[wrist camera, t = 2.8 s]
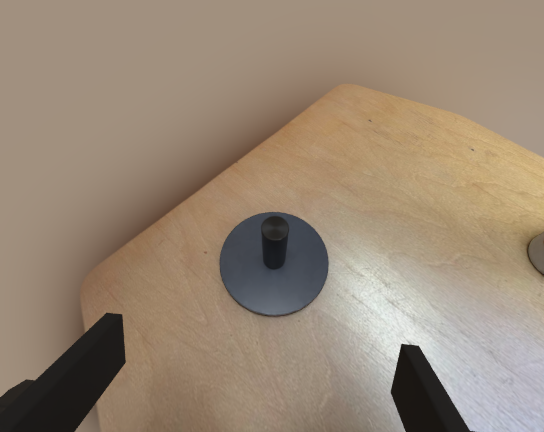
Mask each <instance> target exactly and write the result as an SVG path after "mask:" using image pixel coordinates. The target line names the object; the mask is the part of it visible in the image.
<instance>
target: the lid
mask: <svg viewBox="0 0 544 432" xmlns="http://www.w3.org/2000/svg"><path fill="white" fill-rule="evenodd" d="M220 272H221V276H222V280H223V282H224V284H225V287H226V289H227V290H228V292H229V293H230V295H231V296H232V297H233V298H234V299H235V300H236V301H237V302H238V303H239V304H240V305H242V306H243V307H245V308H246V309H248V310H250V311H252V312H255V313H258V314H261V315H267V316H281V315H287V314H291V313H294V312H296V311H299V310H300V309H302V308H304V307H305V306H307V305H308V304H309V303H311V302H312V301H313V300H314V299H315V298H316V296H317V295H318V294H319V292H320V291H321V289H322V287H323V285H324V283H325V281H326V278H327V273H328V255H327V250H326V247H325V245H324V243H323V241H322V239H321V237H320V236H319V234H318V233H317V232H316V231H315V229H314V228H313V227H311V226H310V225H309V224H308V223H306V222H305V221H304V220H302V219H300V218H298V217H296V216H293V215H290V214H286V213H280V212H267V213H261V214H258V215H254V216H252V217H250V218H248V219H246V220H244V221H243V222H241V223H240V224H239V225H237V226H236V227H235V228H234V229H233V230H232V231H231V233H230V234H229V235H228V237H227V239H226V240H225V242H224V245H223V247H222V250H221V254H220Z"/></svg>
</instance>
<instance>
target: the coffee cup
mask: <svg viewBox="0 0 544 432" xmlns="http://www.w3.org/2000/svg"><path fill="white" fill-rule="evenodd" d="M528 254H529V258H530V260H531V262H532V263H533V265H534V266H535V267H536V268H537V269H538V270H539V271H540V272H541V273H542V274H544V232H543V233H541V234H539V235H538V236H536V237H535V238H534V239H533V240H532V241H531V243H530V246H529V248H528Z"/></svg>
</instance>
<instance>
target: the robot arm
mask: <svg viewBox="0 0 544 432" xmlns="http://www.w3.org/2000/svg"><path fill="white" fill-rule="evenodd" d="M125 363H126V360H125V346H124V333H123V319H122V314H113V313H106V314H105V315H104V316H103V317H102V318H101V319H100V320H98V321H97V322H96V323H95V324H94V325H93V326H92V327H91V328H90V329H89V330H88V331H87V332H86V333H85V334H84V335H83V336H82V337H81V338H80V339H78V340H77V341H76V342H75V343H74V344H73V345H72V346H71V347H70V348H69V349H68V350H67V351H66V352H65V353H64V354H63V355H62V356H61V357H59V358H58V360H56V361H55V362H54V363H53V364H52V365H51V366H50V367H49V368H48V369H47V370H46V371H45V372H44V373H43V374H42V375H40V377H38V379H36V380H35V381H34V380H25V381H23V382H21V383H20V384H18V385H16V386H15V387H13V388H11V389H10V390H8V391H7V392H6V393H5V394H4V395H3V396H1V397H0V432H74V431H75V430H76V428H78V426H79V425H80V423H81V422H82V421H83V419H84V418H85V417H86V415H87V414H88V413H89V411H90V410H91V409H92V407H93V406H94V405H95V403H96V402H97V400H98V399H99V398H100V396H101V395H102V394H103V392H104V391H105V390H106V388H107V387H108V386H109V384H110V383H111V382H112V380H113V379H114V377H115V376H116V375H117V373H118V372H119V371H120V369H121V368H122V367H123V365H124V364H125ZM391 394H392V397H393V400H394V402H395V405H396V408H397V410H398V413H399V415H400V418H401V421H402V423H403V426H404V428H405V431H406V432H474V431H470V430H469V429H468V427H467V425H466V424H465V422H464V420H463V419H462V417H461V415H460V414H459V412H458V410H457V409H456V407H455V405H454V404H453V402H452V400H451V399H450V397H449V395H448V394H447V392H446V390H445V389H444V387H443V385H442V384H441V382H440V380H439V379H438V377H437V375H436V374H435V372H434V370H433V369H432V367H431V366H430V364H429V362H428V361H427V359H426V357H425V356H424V354H423V352H422V351H421V349H420V347H419V346H416V345H407V344H401V349H400V353H399V358H398V362H397V367H396V371H395V375H394V380H393V384H392V389H391Z"/></svg>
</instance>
